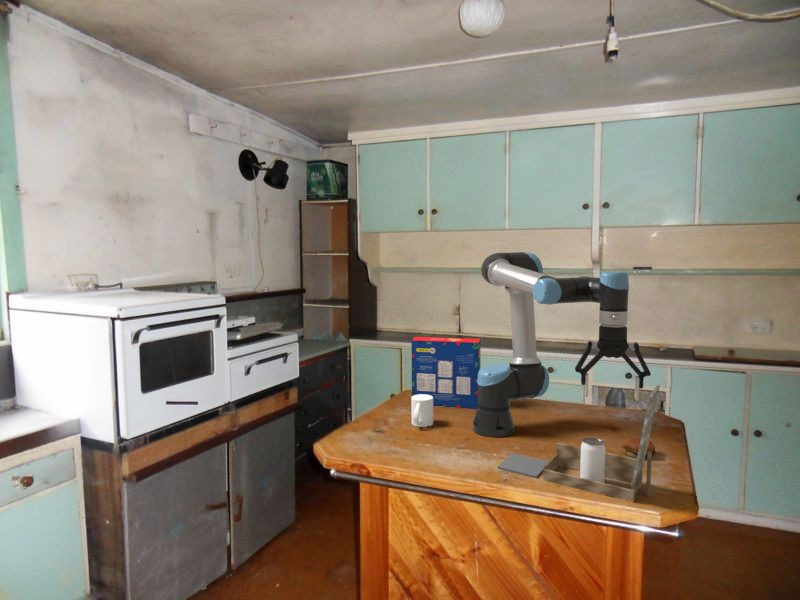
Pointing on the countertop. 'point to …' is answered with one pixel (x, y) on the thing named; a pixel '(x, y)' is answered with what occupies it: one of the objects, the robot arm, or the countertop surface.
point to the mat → (523, 465)
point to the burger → (635, 447)
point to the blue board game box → (446, 370)
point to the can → (592, 459)
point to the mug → (422, 410)
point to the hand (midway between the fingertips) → (611, 397)
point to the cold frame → (607, 464)
